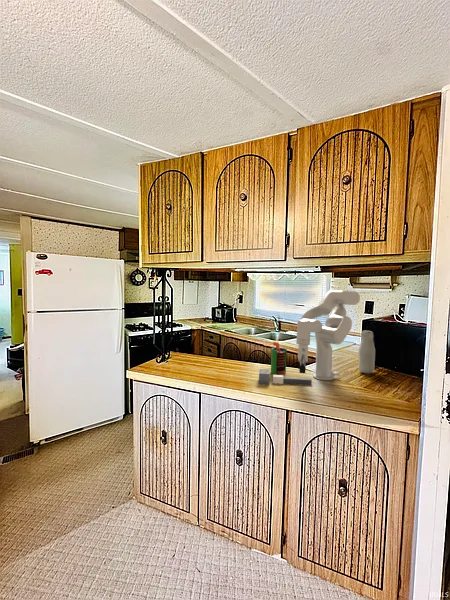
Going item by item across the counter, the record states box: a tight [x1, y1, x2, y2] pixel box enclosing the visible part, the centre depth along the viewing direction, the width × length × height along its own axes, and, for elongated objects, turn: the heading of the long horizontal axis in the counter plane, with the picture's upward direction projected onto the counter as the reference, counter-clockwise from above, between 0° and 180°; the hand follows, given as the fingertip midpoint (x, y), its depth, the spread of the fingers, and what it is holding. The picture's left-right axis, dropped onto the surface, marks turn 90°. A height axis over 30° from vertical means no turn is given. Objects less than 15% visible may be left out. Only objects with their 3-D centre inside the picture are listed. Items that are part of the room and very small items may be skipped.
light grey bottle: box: [358, 330, 376, 375], centre depth 216 cm, size 10×10×28 cm
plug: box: [272, 374, 313, 386], centre depth 194 cm, size 22×4×4 cm, turn 82°
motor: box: [270, 341, 288, 375], centre depth 215 cm, size 10×9×20 cm
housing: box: [258, 368, 271, 386], centre depth 196 cm, size 6×10×6 cm, turn 172°
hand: (301, 370), depth 192 cm, fingers open, 9 cm apart
